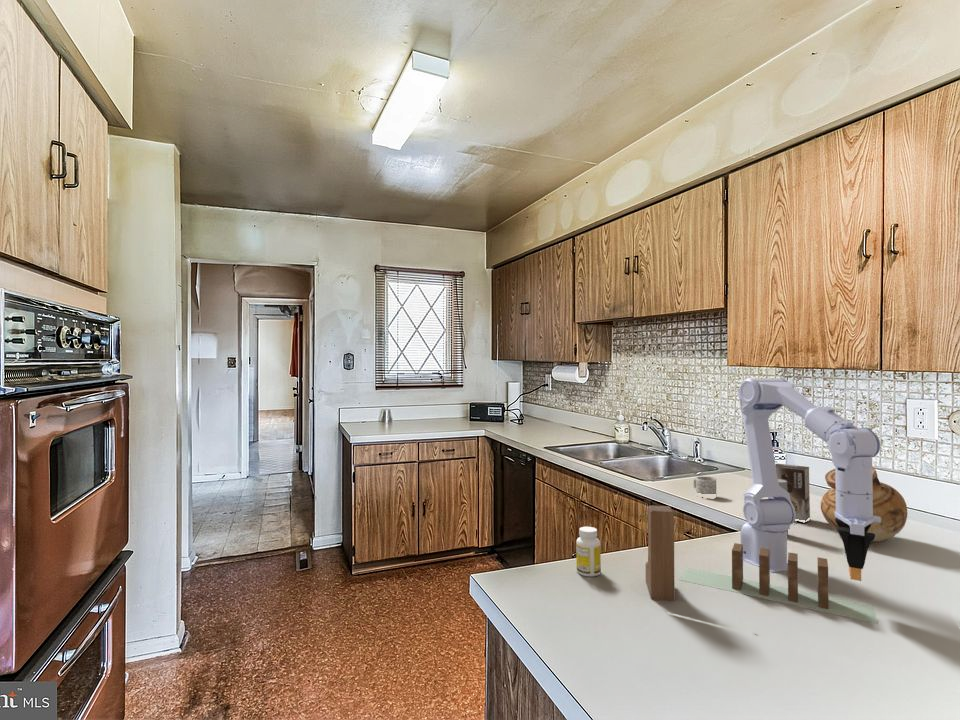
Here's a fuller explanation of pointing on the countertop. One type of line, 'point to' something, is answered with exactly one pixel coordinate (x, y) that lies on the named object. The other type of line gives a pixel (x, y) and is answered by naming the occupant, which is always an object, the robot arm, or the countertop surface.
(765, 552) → the domino
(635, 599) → the countertop surface
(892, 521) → the clay pot
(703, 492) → the mug
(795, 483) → the coffee box
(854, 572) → the orange domino
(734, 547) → the domino
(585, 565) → the supplement bottle
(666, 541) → the wooden block
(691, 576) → the mat
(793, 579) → the domino
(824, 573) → the domino
